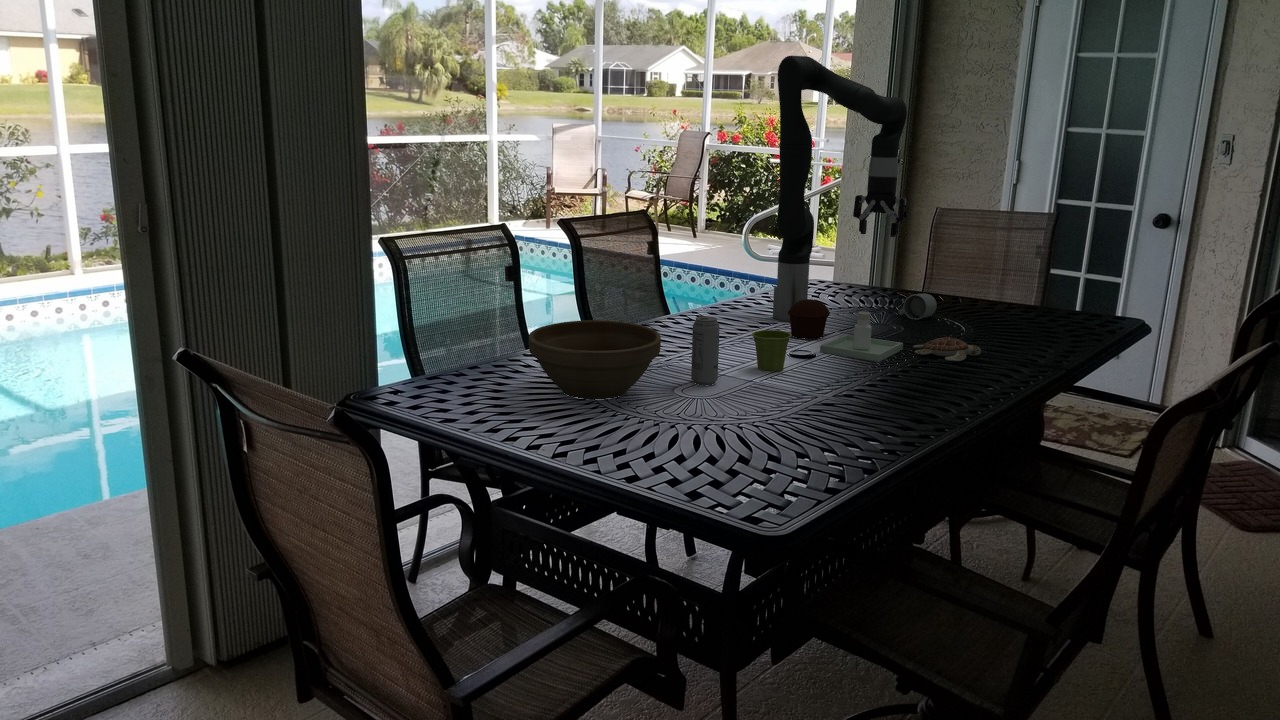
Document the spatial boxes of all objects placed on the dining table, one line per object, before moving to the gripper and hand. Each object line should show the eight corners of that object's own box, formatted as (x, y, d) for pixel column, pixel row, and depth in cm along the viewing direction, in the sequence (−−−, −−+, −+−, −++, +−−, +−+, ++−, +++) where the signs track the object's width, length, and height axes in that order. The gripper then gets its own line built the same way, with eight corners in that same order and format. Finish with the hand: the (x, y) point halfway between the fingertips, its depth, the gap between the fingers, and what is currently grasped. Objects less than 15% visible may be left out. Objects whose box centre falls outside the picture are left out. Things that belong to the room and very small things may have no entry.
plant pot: (746, 372, 223) (747, 336, 221) (755, 362, 232) (757, 328, 229) (785, 376, 220) (787, 340, 218) (793, 366, 228) (795, 331, 226)
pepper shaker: (852, 346, 246) (855, 310, 244) (868, 346, 246) (870, 311, 243) (854, 350, 242) (857, 314, 240) (870, 350, 242) (872, 314, 240)
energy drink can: (720, 386, 211) (722, 320, 207) (694, 387, 210) (696, 321, 206) (714, 378, 217) (716, 315, 213) (688, 379, 216) (690, 315, 212)
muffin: (800, 342, 253) (802, 305, 251) (778, 333, 263) (780, 298, 261) (837, 338, 258) (839, 302, 255) (814, 330, 268) (816, 295, 265)
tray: (819, 352, 243) (820, 345, 242) (845, 340, 255) (846, 334, 255) (878, 361, 233) (879, 354, 233) (902, 349, 246) (903, 343, 245)
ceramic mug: (937, 317, 286) (939, 292, 284) (925, 321, 280) (927, 296, 278) (905, 313, 293) (907, 288, 291) (892, 317, 287) (894, 292, 285)
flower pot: (677, 406, 196) (678, 344, 193) (543, 416, 189) (542, 353, 185) (638, 371, 223) (639, 317, 219) (519, 379, 215) (518, 323, 212)
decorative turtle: (985, 367, 231) (988, 347, 230) (916, 363, 234) (917, 343, 233) (975, 349, 248) (977, 331, 247) (910, 346, 252) (912, 328, 250)
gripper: (852, 173, 251) (847, 234, 255) (903, 176, 243) (898, 239, 247) (863, 172, 257) (859, 232, 261) (914, 175, 249) (908, 236, 253)
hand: (878, 235), depth 254 cm, fingers open, 8 cm apart
